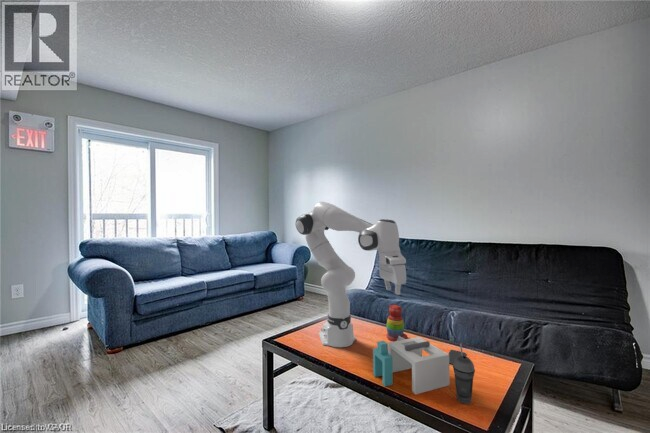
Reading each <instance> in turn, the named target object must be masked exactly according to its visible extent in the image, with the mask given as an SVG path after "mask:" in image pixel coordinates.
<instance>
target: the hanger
mask: <svg viewBox="0 0 650 433" xmlns="http://www.w3.org/2000/svg"><path fill="white" fill-rule="evenodd" d="M388 343H389V342H387V341H385V340H380V341H376V344H377V345H376V347H375V348H372V368H373V369H372V372H373V373H372V374H373V375H372V376H374V377H375V378H377V377H381V376H382V386H384V387H388V386H392V385H393V383H394V382H393V380H394V379H393V373H394V372H393V358H392V356H391V355H390V354H389V353H388Z"/></svg>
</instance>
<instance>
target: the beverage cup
mask: <svg viewBox="0 0 650 433" xmlns="http://www.w3.org/2000/svg"><path fill="white" fill-rule="evenodd" d="M459 347H460V352H461V356H458V357H457V358H456V359H455V360H454V362H453V365H452V368H453V373H454V383H455V392H456V400H457V401H458V403H461V404H463V405H464V404H465V405H469V404H471V402H472V396H473V388H474V387H473V384H474V376H475V372H476V368H475V364H474V362H473V361H472V360H471V359H470V358H469V357H468V356H467V355H466V356H463V353H462V352H463V345H462V342H460V343H459Z"/></svg>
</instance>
